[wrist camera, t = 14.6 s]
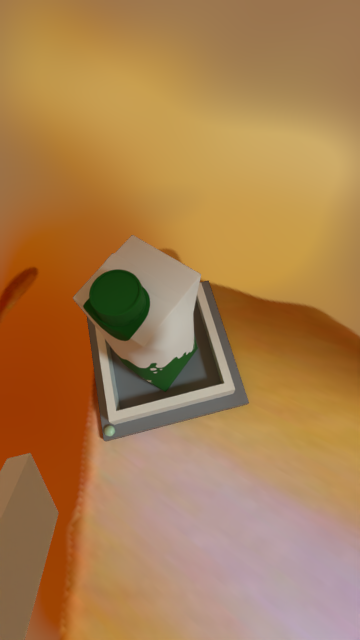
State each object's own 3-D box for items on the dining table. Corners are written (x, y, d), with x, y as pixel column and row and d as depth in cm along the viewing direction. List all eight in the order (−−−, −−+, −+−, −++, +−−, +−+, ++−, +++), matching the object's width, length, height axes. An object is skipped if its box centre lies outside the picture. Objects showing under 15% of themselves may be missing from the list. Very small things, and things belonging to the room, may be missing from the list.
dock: (208, 284, 48) (208, 270, 45) (247, 404, 41) (251, 398, 38) (88, 313, 48) (80, 301, 44) (106, 441, 40) (97, 438, 37)
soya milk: (113, 363, 43) (51, 285, 25) (155, 312, 46) (127, 208, 28) (167, 402, 41) (140, 348, 22) (208, 346, 43) (214, 256, 25)
